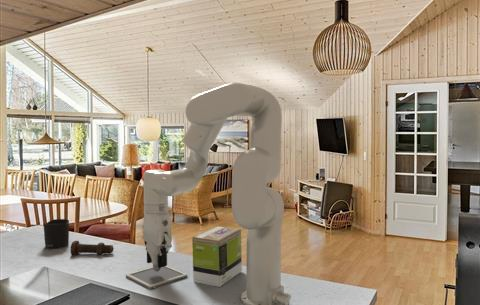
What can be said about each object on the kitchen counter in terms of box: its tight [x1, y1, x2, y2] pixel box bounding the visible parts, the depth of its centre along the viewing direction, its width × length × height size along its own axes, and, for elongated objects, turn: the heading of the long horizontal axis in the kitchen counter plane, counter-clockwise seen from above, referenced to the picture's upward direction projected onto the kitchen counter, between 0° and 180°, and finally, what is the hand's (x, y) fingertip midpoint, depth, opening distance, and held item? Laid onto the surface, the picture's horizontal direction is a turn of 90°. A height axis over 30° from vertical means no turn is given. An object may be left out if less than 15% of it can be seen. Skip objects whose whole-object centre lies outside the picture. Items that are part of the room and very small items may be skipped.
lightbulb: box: [146, 242, 164, 271], centre depth 128 cm, size 6×6×11 cm
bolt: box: [69, 240, 114, 257], centre depth 152 cm, size 6×5×15 cm
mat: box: [125, 265, 188, 290], centre depth 129 cm, size 14×14×1 cm
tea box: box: [191, 225, 243, 288], centre depth 128 cm, size 15×10×15 cm
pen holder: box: [43, 218, 70, 250], centre depth 162 cm, size 9×9×10 cm
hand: (156, 263), depth 128 cm, fingers closed on lightbulb, 5 cm apart
